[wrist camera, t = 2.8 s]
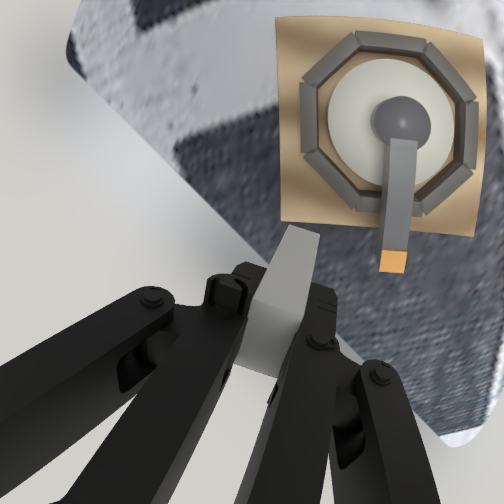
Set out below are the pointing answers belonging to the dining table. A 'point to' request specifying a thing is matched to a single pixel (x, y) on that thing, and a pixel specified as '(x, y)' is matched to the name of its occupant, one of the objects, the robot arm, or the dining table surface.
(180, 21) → the dining table surface
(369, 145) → the dial
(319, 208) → the dial board
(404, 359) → the dining table surface
